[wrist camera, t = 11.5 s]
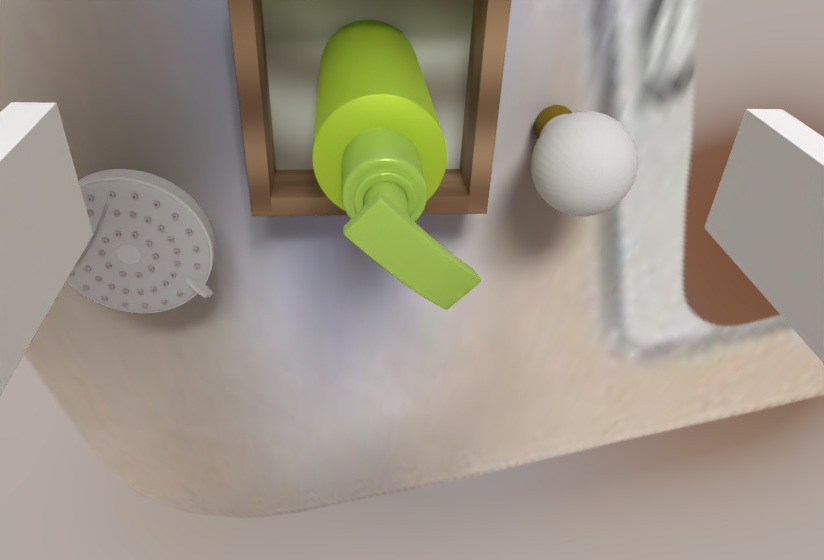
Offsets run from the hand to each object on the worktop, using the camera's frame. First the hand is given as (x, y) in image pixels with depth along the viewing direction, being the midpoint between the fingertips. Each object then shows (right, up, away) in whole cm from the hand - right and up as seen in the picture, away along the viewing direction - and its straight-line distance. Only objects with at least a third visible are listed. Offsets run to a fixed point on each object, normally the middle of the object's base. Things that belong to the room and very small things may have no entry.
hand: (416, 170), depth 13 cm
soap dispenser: (-2, +10, +27) cm, 29 cm away
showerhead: (-17, +3, +31) cm, 36 cm away
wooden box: (-3, +11, +27) cm, 29 cm away
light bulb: (+9, +8, +30) cm, 33 cm away
